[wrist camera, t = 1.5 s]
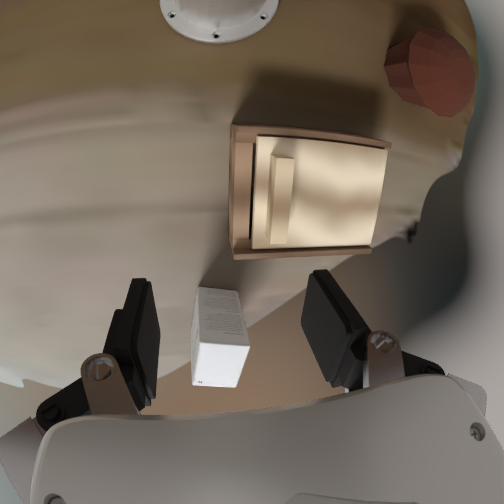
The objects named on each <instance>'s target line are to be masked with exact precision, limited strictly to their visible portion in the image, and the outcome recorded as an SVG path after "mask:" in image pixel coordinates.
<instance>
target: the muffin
mask: <svg viewBox="0 0 504 504" xmlns="http://www.w3.org/2000/svg"><path fill="white" fill-rule="evenodd" d="M384 69H385V71H386V74H387V76H388V80H389V85H390V87H391V88H392V89H394V90H395V91H396V92H397V93H398V94H399V96H400V97H401V98H402V99H403V100H404V101H408V102H411V103H414V104H417V105H420V106H423V107H426V108H429V109H431V110H432V111H433V112H435V113H436V114H437V115H438V116H446V117H452V116H454V115H455V114H457V113H458V112H460V111H461V110H462V109H463V108H464V107H465V106H466V105H467V104H468V103H469V101H470V99H471V97H472V95H473V93H474V89H475V72H474V67H473V63H472V61H471V59H470V57H469V55H468V53H467V51H466V49H465V48H464V47H463V46H462V45H461V44H460V43H459V42H458V41H457V40H456V39H455V38H454V37H452V36H451V35H449V34H447V33H445V32H444V31H441V30H438V29H435V28H433V27H428V28H425V29H422V30H419V31H417V32H416V34H415V35H414V36H412V37H410V38H408V39H406V40H403V41H401V42H399V43H398V44H397V45H396V46H394V47H392V48H390V49H388V50H387V57H386V61H385V64H384Z"/></svg>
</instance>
